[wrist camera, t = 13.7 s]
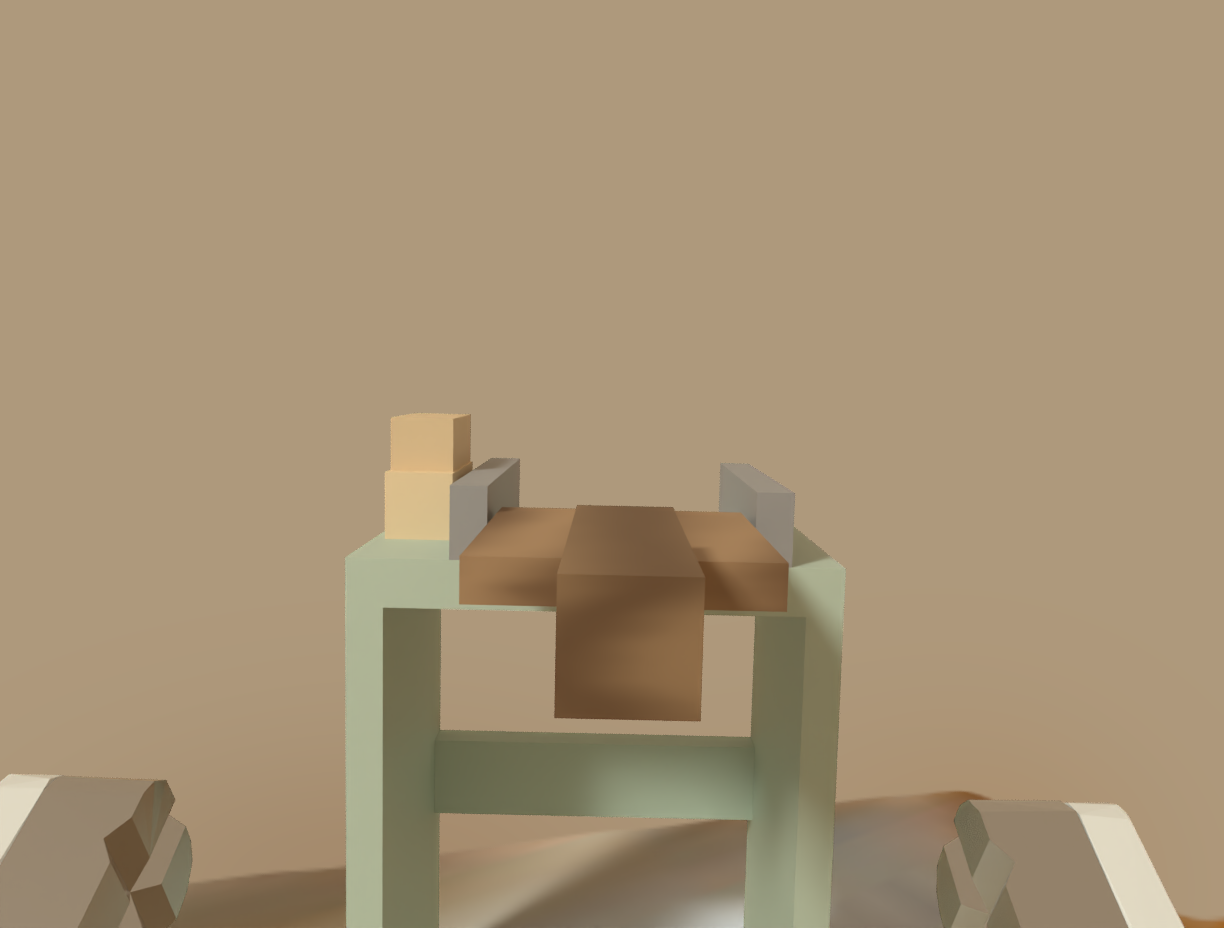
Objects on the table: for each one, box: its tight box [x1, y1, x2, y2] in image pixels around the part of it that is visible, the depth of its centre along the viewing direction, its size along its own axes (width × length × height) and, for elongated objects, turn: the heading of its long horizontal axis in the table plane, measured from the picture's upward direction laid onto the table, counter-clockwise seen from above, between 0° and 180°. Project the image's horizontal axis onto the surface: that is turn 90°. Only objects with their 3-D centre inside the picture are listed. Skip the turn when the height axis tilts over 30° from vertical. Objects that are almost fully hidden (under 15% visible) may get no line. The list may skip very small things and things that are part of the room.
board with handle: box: [459, 505, 789, 721], centre depth 30 cm, size 10×20×3 cm, turn 0°
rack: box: [345, 413, 846, 928], centre depth 45 cm, size 20×13×31 cm, turn 90°
